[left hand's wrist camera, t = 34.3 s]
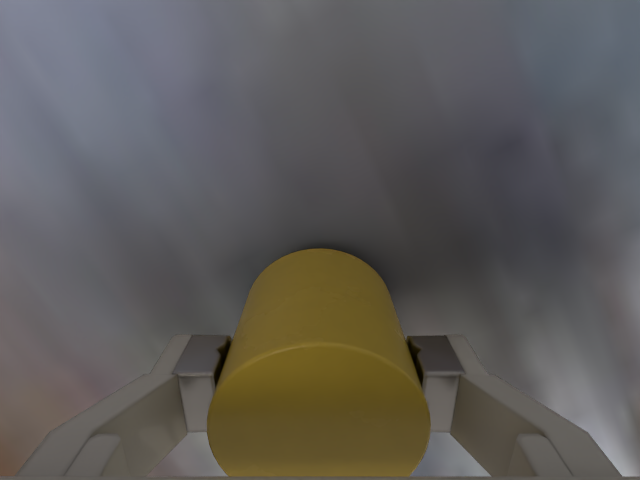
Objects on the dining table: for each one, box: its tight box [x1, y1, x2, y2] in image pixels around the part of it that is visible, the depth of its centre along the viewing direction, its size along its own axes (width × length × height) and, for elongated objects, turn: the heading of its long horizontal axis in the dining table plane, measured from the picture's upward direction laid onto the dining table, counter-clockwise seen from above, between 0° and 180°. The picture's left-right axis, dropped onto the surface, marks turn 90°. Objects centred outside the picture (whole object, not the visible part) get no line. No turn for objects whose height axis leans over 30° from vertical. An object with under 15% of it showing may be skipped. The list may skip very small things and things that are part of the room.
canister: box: [207, 248, 431, 477], centre depth 10 cm, size 5×5×5 cm
